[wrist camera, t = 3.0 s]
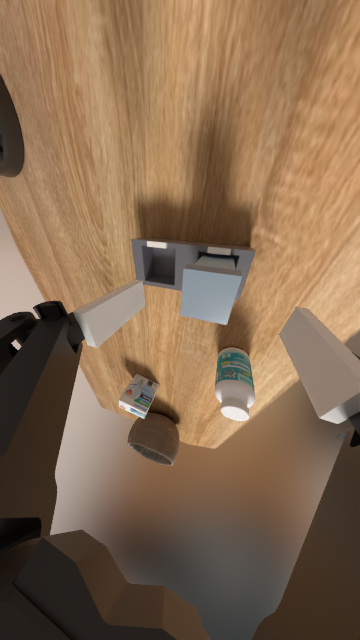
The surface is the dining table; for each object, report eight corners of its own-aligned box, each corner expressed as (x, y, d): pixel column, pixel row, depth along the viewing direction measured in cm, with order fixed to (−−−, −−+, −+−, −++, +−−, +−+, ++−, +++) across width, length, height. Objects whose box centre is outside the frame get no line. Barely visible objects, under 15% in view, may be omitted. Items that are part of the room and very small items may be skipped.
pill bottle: (252, 348, 31) (264, 410, 21) (246, 368, 35) (253, 429, 25) (219, 343, 33) (214, 397, 23) (216, 363, 37) (212, 417, 27)
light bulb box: (159, 384, 53) (146, 413, 44) (157, 391, 57) (144, 419, 48) (135, 372, 54) (118, 400, 45) (134, 380, 58) (118, 407, 49)
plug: (204, 250, 22) (183, 268, 12) (235, 253, 21) (242, 276, 11) (200, 280, 25) (180, 315, 15) (227, 284, 24) (226, 325, 14)
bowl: (175, 432, 79) (166, 469, 67) (139, 414, 80) (123, 446, 68) (190, 421, 64) (181, 465, 52) (144, 399, 65) (126, 437, 53)
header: (146, 237, 25) (128, 239, 20) (250, 246, 21) (256, 251, 17) (149, 275, 29) (135, 284, 24) (237, 289, 25) (238, 302, 21)
